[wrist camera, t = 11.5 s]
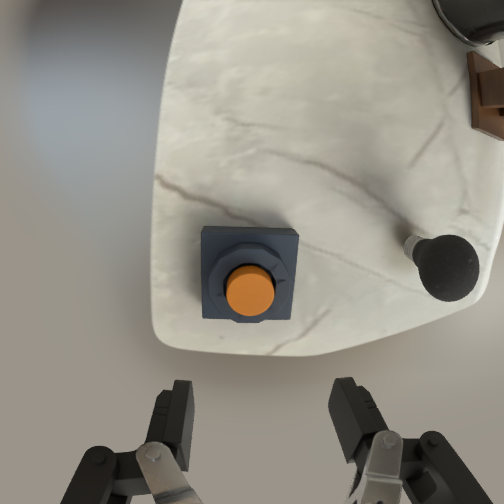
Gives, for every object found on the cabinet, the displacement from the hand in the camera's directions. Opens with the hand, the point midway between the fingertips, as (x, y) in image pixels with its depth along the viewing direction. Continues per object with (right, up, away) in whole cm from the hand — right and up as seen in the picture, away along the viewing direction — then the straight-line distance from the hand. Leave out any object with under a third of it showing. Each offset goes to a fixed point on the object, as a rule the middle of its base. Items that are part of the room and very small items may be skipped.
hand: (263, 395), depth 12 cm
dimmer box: (-1, +5, +15) cm, 16 cm away
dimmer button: (-1, +4, +12) cm, 12 cm away
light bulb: (+16, +7, +15) cm, 23 cm away
